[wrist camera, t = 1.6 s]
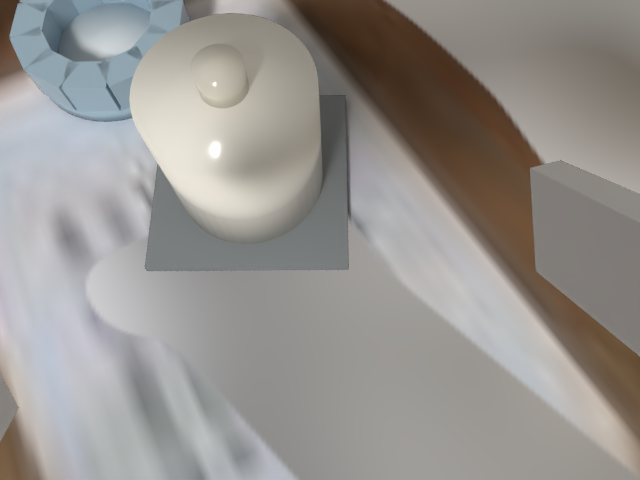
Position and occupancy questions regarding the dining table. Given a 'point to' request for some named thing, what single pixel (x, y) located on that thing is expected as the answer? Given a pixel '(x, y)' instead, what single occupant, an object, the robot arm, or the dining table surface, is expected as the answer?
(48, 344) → the dining table surface
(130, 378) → the dining table surface
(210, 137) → the cover
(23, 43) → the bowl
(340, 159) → the mat
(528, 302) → the dining table surface
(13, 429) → the dining table surface
